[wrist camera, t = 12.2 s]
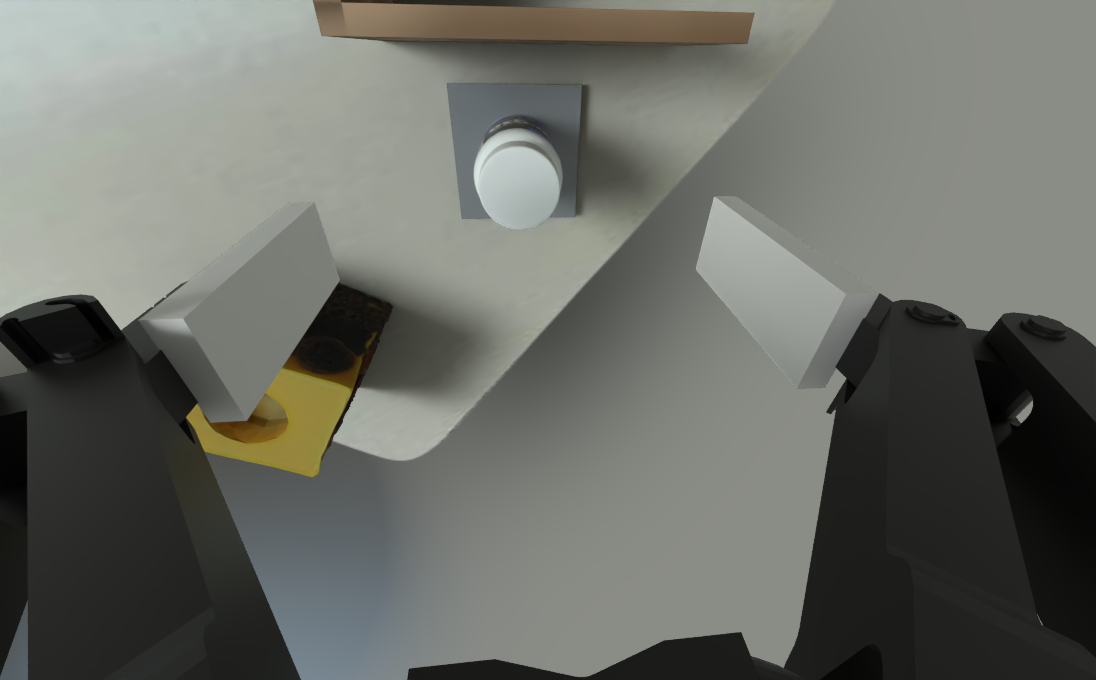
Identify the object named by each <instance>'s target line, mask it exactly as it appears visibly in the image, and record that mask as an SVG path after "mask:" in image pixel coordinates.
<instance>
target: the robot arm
mask: <svg viewBox="0 0 1096 680" xmlns="http://www.w3.org/2000/svg"><path fill="white" fill-rule="evenodd" d="M696 270H697V272H698V273H699V274H700V275H701V276H702V278H703V279H704V280H705V281H706V282H707V283H708V284H709V286H710V287H711V288H712V289H713V291H714V292H715V293H716V294H717V295H718V296H719V298H720V299H721V300H722V301H723V302H724V304H725V305H726V306H727V307H728V308H729V309H730V311H731V312H732V313H733V314H734V315H735V316H736V318H737V319H738V320H739V321H740V323H741V324H742V325H743V326H744V327H745V329H746V330H747V331H748V332H749V333H750V334H751V336H752V337H753V338H754V339H755V340H756V341H757V342H758V344H759V345H760V346H761V347H762V349H763V350H764V351H765V352H766V353H767V355H768V356H769V357H770V358H771V359H772V360H773V362H774V363H775V364H776V365H777V366H778V367H779V369H780V370H781V371H782V372H783V374H784V375H785V376H786V377H787V378H788V379H789V381H790V382H791V383H792V384H793V385H794V387H795V388H796V389H805V388H822V387H826V385H827V383H828V381H829V380H830V378H831V376H832V374H833V373H834V371H835V369H836V368H837V369H838V370H839V371H840V372H841V373H842V374H843V375H844V376H845V377H846V378H847V379H846V380H845V382H844V384H843V385H842V387H841V389H840V390H839V392H838V394H837V395H836V397H835V398H834V400H833V402H832V403H831V405H830V407H829V408H828V410H827V413H829V414H831V413H832V412H833V411H834V410H836V413H835V419H834V425H833V431H832V437H831V443H830V449H829V455H828V461H827V467H826V473H825V479H824V485H823V491H822V496H821V502H820V509H819V515H818V521H817V526H816V532H815V539H814V544H813V551H812V556H811V562H810V568H809V574H808V581H807V586H806V593H805V598H804V605H803V610H802V616H801V622H800V628H799V632H798V637H797V639H796V642H795V645H794V647H793V649H792V651H791V653H790V655H789V657H788V659H787V661H786V664H785V666H784V668H782V667H780V666H778V665H775V664H773V663H770V662H767V661H764V660H761V659H759V658H755V657H752V656H750V653H749V651H748V648H747V646H746V643H745V641H744V638H743V636H742V633H741V632H740V633H739V632H738V633H729V634H720V635H711V636H702V637H693V638H684V639H674V640H666V641H662V642H660V643H658V644H656V645H654V646H652V647H650V648H648V649H646V650H643V651H641V652H639V653H637V654H635V655H633V656H631V657H629V658H627V659H625V660H623V661H621V662H619V663H616V664H614V665H612V666H610V667H608V668H606V669H604V670H602V671H600V672H598V673H596V674H593V675H591V676H588V677H574V676H570V675H565V674H560V673H555V672H551V671H546V670H541V669H537V668H533V667H528V666H523V665H519V664H514V663H509V662H505V661H500V660H496V659H493V660H483V661H474V662H465V663H456V664H447V665H438V666H430V667H420V668H412V669H409V672H408V679H407V680H1096V347H1095V346H1094V345H1093V344H1092V343H1091V342H1089V341H1088V340H1087V339H1086V338H1085V337H1083V336H1082V335H1080V334H1079V333H1078V332H1076V331H1074V330H1073V329H1071V328H1068V327H1066V326H1065V325H1064V324H1062V323H1061V322H1059V321H1057V320H1054V319H1050V318H1048V317H1044V316H1040V315H1038V316H1034V315H1029V314H1023V313H1007V314H1003V315H1002V317H1001V318H1000V319H999V320H998V321H997V322H996V324H995V325H994V326H993V327H992V329H991V330H990V331H984V330H976V329H969V328H966V325H965V323H964V322H963V321H962V319H961V318H959V317H958V316H957V315H955V314H953V313H952V312H949V311H947V310H945V309H943V308H941V307H939V306H937V305H934V304H930V303H925V302H920V301H914V300H899V301H895V302H892V301H890V300H889V299H888V298H886V297H885V296H883V295H882V294H880V293H879V292H878V291H876V290H874V289H873V288H872V287H870V286H869V285H867V284H866V283H864V282H863V281H861V280H860V279H858V278H857V277H855V276H854V275H852V274H851V273H849V272H848V271H846V270H845V269H843V268H842V267H840V266H839V265H837V264H836V263H834V262H833V261H831V260H830V259H828V258H827V257H825V256H824V255H822V254H821V253H820V252H818V251H817V250H815V249H814V248H812V247H810V246H809V245H808V244H806V243H804V242H803V241H802V240H800V239H799V238H797V237H796V236H794V235H793V234H791V233H790V232H788V231H787V230H785V229H784V228H782V227H781V226H779V225H778V224H776V223H775V222H773V221H772V220H770V219H769V218H767V217H766V216H764V215H763V214H761V213H760V212H758V211H757V210H756V209H754V208H753V207H751V206H749V205H748V204H747V203H745V202H744V201H742V200H741V199H739V198H738V197H736V196H714V199H713V203H712V207H711V211H710V215H709V219H708V223H707V227H706V230H705V234H704V238H703V242H702V246H701V250H700V254H699V258H698V262H697V266H696ZM339 281H340V279H339V276H338V273H337V269H336V266H335V263H334V260H333V257H332V254H331V251H330V248H329V245H328V242H327V239H326V236H325V233H324V230H323V227H322V224H321V221H320V218H319V214H318V211H317V208H316V205H315V202H299V203H288V204H287V205H285V206H284V207H283V208H282V209H280V210H279V211H278V212H276V213H275V214H274V215H273V216H271V217H270V218H269V219H267V220H266V221H265V222H264V223H262V224H261V225H260V226H258V227H257V228H256V229H255V230H253V231H252V232H251V233H249V234H248V235H247V236H246V237H244V238H243V239H242V240H240V241H239V242H238V243H237V244H235V245H234V246H233V247H231V248H230V249H229V250H228V251H226V252H225V253H224V254H223V255H221V256H220V257H219V258H217V259H216V260H215V261H214V262H212V263H211V264H210V265H208V266H207V267H206V268H205V269H203V270H202V271H201V272H199V273H198V274H197V275H196V276H194V277H193V278H192V279H190V280H189V281H187V282H185V283H183V284H181V285H179V286H178V287H177V288H175V289H174V290H173V291H172V292H170V293H169V294H168V295H166V298H162V299H161V300H160V301H159V302H157V303H156V304H155V305H154V307H151V308H149V309H148V310H147V311H146V312H144V313H143V314H142V315H140V316H139V317H138V318H136V319H135V320H134V321H133V322H131V323H130V324H129V325H127V326H126V327H125V328H124V329H122V330H120V329H119V327H118V326H117V325H116V323H115V322H114V321H113V320H112V318H111V317H110V316H109V314H108V313H107V312H106V310H105V309H104V308H103V306H102V305H101V304H100V302H99V301H98V300H97V299H96V298H95V297H93V296H89V295H69V296H62V297H57V298H52V299H47V300H43V301H40V302H36V303H33V304H30V305H27V306H24V307H22V308H19V309H17V310H15V311H12V312H10V313H8V314H6V315H4V316H3V317H1V318H0V342H2V344H3V345H4V346H5V347H6V348H7V349H8V350H9V351H10V352H11V353H13V355H14V356H15V357H16V358H17V359H18V360H19V361H21V363H22V364H23V365H24V366H25V367H26V368H27V372H25V373H20V374H15V375H10V376H5V377H0V675H1V672H2V670H3V667H4V664H5V661H6V659H7V656H8V653H9V650H10V647H11V645H12V642H13V639H14V636H15V633H16V631H17V628H18V625H19V622H20V620H21V616H22V614H23V611H24V608H25V606H26V603H27V600H28V680H301V679H300V676H299V674H298V672H297V670H296V667H295V665H294V663H293V660H292V658H291V655H290V653H289V651H288V648H287V646H286V643H285V641H284V639H283V636H282V634H281V632H280V629H279V627H278V625H277V622H276V620H275V617H274V615H273V613H272V610H271V608H270V606H269V603H268V601H267V598H266V596H265V594H264V592H263V589H262V587H261V584H260V582H259V580H258V577H257V575H256V573H255V571H254V568H253V565H252V563H251V561H250V558H249V556H248V554H247V551H246V549H245V547H244V544H243V542H242V540H241V537H240V535H239V532H238V530H237V528H236V525H235V523H234V521H233V518H232V516H231V513H230V511H229V509H228V507H227V504H226V502H225V499H224V497H223V495H222V492H221V490H220V488H219V485H218V483H217V480H216V478H215V476H214V473H213V471H212V469H211V466H210V464H209V461H208V459H207V457H206V454H205V452H204V450H203V447H202V445H201V443H200V440H199V438H198V435H197V433H196V431H195V428H194V427H193V426H192V424H191V423H190V422H189V421H188V419H187V418H186V417H187V415H188V414H189V413H190V412H191V411H192V409H193V408H194V407H195V406H196V405H197V404H198V406H199V407H200V408H201V410H202V411H203V413H204V414H205V415H206V417H207V418H208V420H209V421H210V423H215V422H233V421H247V420H248V418H249V417H250V415H251V414H252V412H253V411H254V409H255V408H256V406H257V405H258V403H259V402H260V400H261V399H262V397H263V396H264V394H265V393H266V391H267V390H268V388H269V387H270V385H271V384H272V382H273V381H274V379H275V377H276V376H277V374H278V373H279V371H280V370H281V368H282V367H283V365H284V364H285V362H286V361H287V359H288V358H289V356H290V355H291V353H292V352H293V350H294V349H295V347H296V346H297V344H298V343H299V341H300V340H301V338H302V337H303V335H304V334H305V332H306V331H307V329H308V328H309V326H310V325H311V323H312V322H313V320H314V319H315V317H316V316H317V314H318V313H319V311H320V310H321V308H322V306H323V305H324V303H325V302H326V300H327V299H328V297H329V296H330V294H331V293H332V291H333V290H334V288H335V287H336V285H337V284H338V282H339ZM1032 400H1033V408H1032V411H1031V413H1030V415H1029V416H1028V417H1027V419H1025V421H1023V422H1022V423H1020V422H1019V421H1018V419H1017V418H1016V416H1017V415H1018V414H1019V413H1020V412H1021V411H1022V410H1023V409H1024V408H1025V407H1026V406H1027V405H1028V404H1029V403H1030V402H1031V401H1032ZM1037 614H1038V616H1039V618H1040V620H1041V622H1042V624H1043V625H1041V623H1040V620H1039V618H1038V616H1037Z"/></svg>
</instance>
